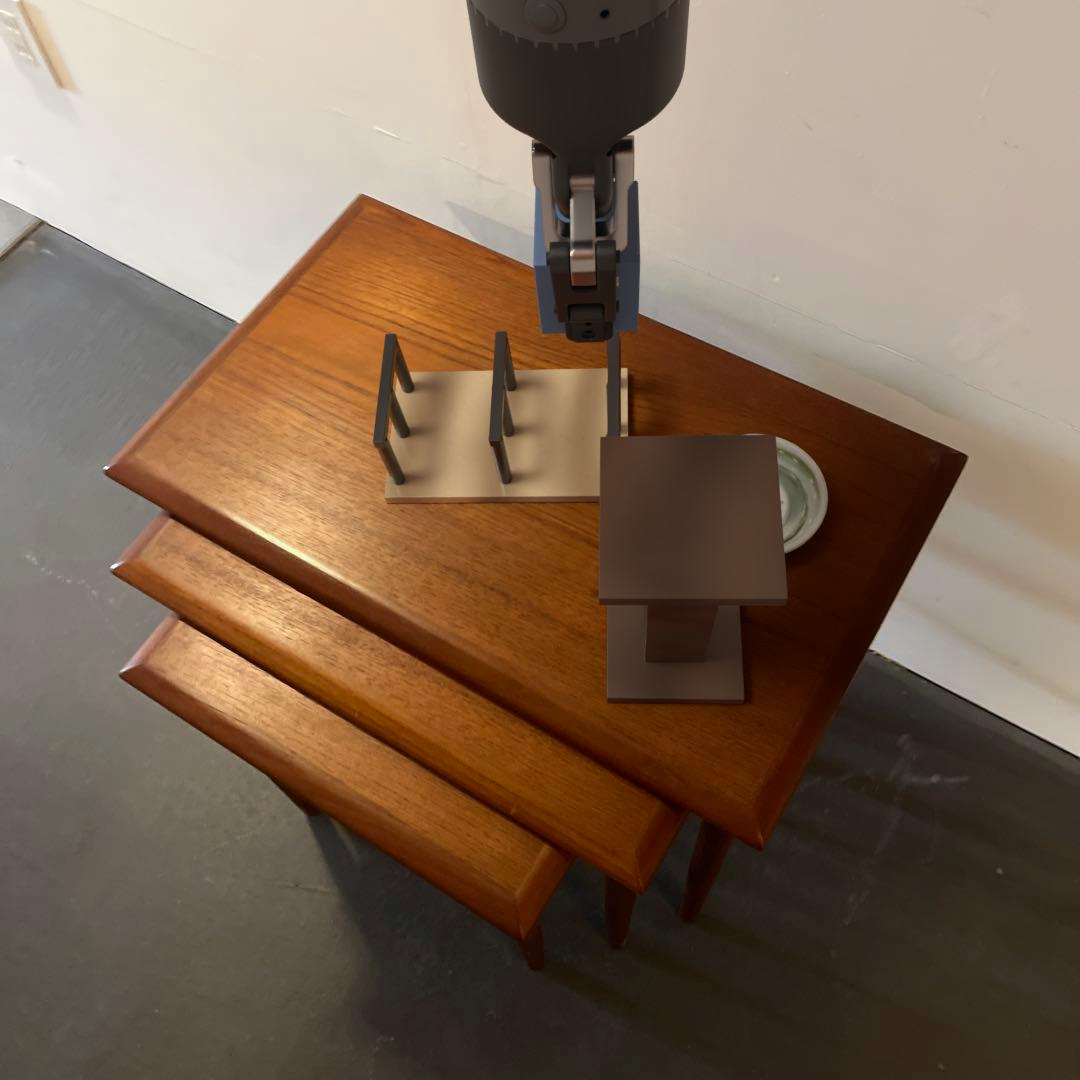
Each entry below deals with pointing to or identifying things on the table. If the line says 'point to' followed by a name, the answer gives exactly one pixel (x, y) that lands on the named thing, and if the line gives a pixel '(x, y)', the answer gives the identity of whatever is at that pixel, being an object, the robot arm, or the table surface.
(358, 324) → the table surface
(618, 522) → the stand
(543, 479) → the rack
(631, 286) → the block
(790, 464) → the saucer
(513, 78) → the robot arm
